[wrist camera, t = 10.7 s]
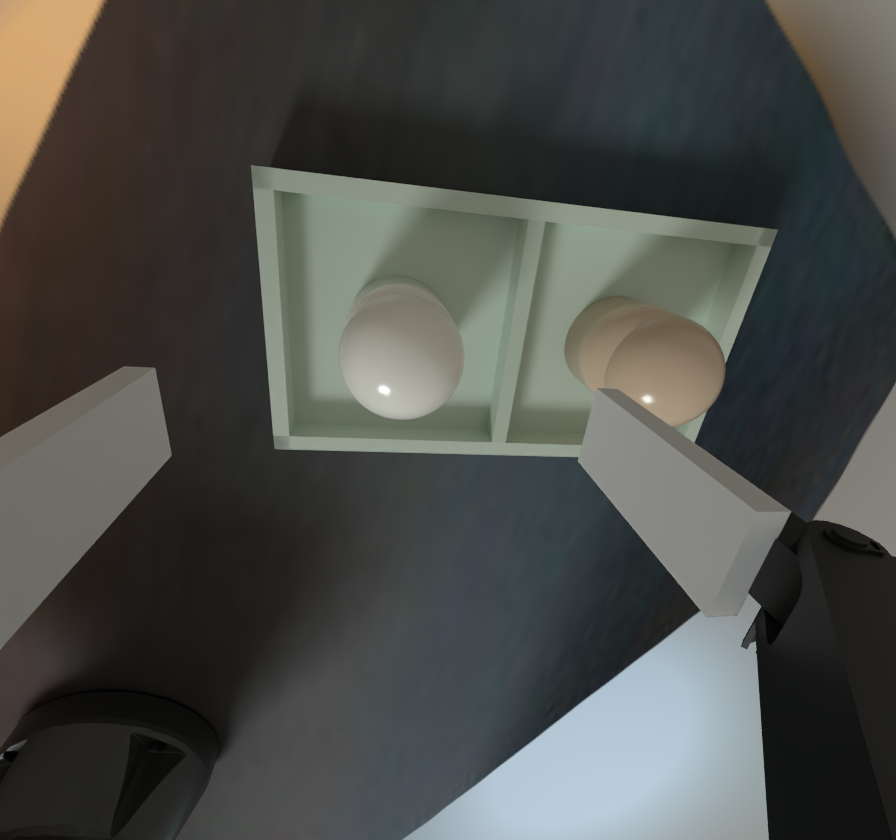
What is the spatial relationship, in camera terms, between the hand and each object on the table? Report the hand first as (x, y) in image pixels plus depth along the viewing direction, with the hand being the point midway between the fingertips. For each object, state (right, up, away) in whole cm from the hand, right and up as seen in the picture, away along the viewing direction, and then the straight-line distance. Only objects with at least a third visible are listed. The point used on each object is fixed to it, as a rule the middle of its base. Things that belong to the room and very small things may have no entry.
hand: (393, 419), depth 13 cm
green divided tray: (+5, +5, +11) cm, 13 cm away
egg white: (-1, +5, +9) cm, 10 cm away
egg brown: (+11, +4, +11) cm, 16 cm away
